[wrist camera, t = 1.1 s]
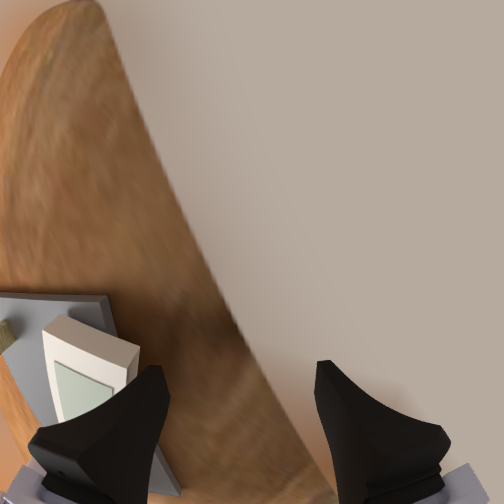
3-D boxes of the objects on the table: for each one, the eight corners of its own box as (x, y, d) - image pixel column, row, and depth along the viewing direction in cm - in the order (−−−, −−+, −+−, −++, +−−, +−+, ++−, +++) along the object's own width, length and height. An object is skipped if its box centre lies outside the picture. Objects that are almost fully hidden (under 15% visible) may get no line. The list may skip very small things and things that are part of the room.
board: (181, 489, 19) (176, 516, 15) (79, 466, 19) (69, 487, 15) (107, 295, 14) (75, 324, 10) (-11, 291, 14) (-40, 308, 10)
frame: (133, 484, 17) (127, 501, 15) (84, 464, 17) (77, 480, 15) (140, 346, 13) (125, 371, 11) (61, 313, 13) (39, 331, 10)
